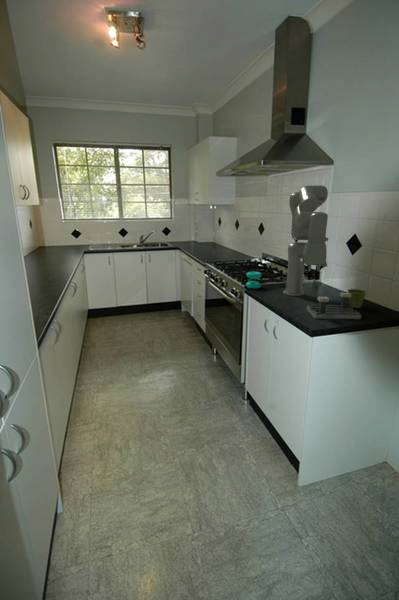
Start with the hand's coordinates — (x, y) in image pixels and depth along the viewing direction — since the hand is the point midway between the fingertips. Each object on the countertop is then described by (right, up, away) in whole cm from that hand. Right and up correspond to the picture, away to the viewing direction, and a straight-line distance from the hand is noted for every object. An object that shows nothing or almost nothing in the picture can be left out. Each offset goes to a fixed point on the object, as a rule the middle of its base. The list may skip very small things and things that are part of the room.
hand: (312, 278), depth 151 cm
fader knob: (+7, -16, +5) cm, 18 cm away
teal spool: (-18, -2, +61) cm, 63 cm away
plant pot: (+31, -14, +21) cm, 40 cm away
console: (+14, -17, +9) cm, 24 cm away
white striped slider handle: (+21, -14, +12) cm, 28 cm away
